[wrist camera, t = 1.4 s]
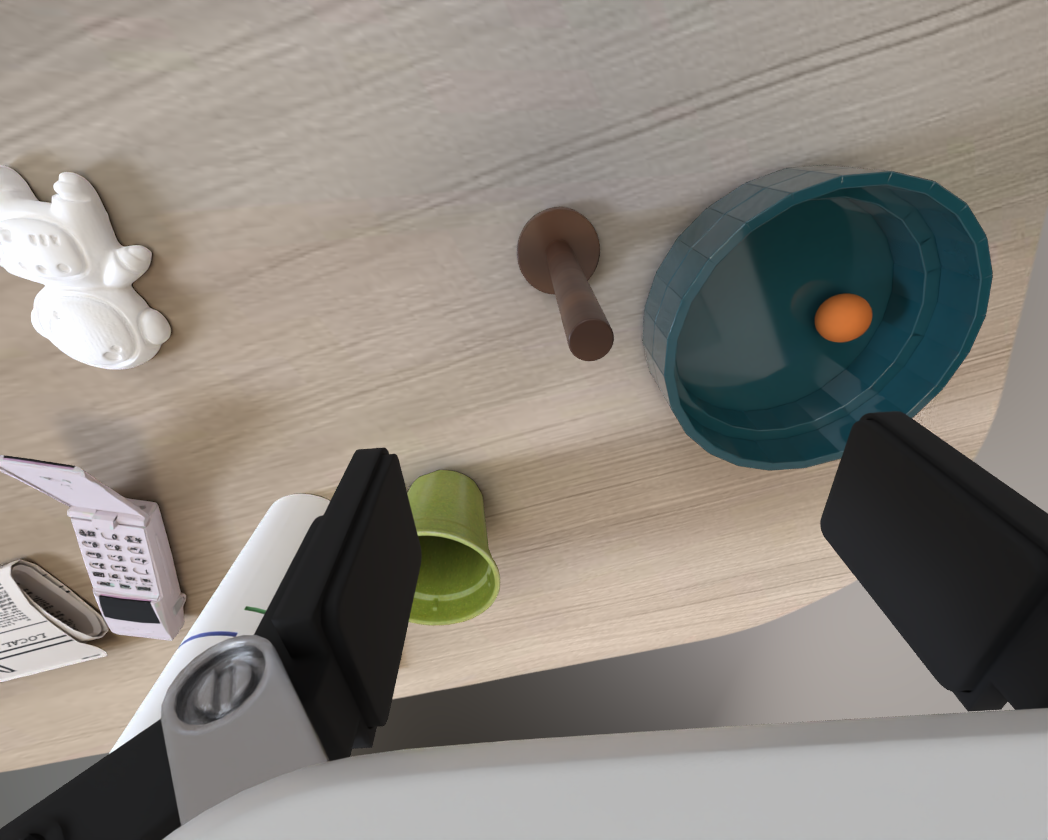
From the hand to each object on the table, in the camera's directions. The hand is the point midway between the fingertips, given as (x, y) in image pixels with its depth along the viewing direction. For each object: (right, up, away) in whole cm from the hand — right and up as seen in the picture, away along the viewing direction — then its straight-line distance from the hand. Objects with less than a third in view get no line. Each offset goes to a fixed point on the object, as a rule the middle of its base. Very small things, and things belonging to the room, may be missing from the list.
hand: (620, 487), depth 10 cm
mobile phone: (-35, -9, +31) cm, 48 cm away
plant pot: (-8, -5, +29) cm, 31 cm away
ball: (+18, +8, +20) cm, 28 cm away
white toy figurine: (-29, +11, +19) cm, 36 cm away
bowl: (+14, +9, +21) cm, 27 cm away
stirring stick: (0, +12, +19) cm, 23 cm away
